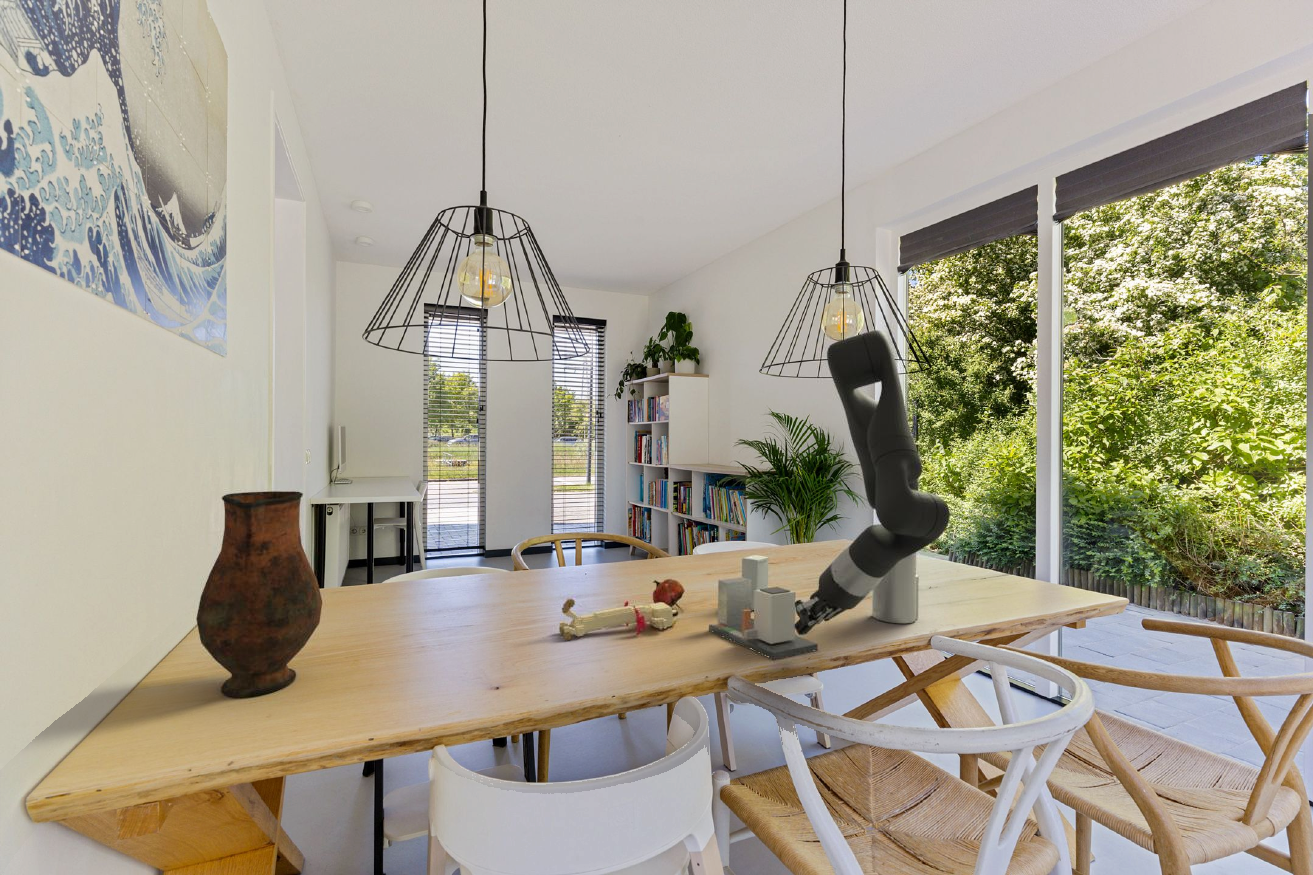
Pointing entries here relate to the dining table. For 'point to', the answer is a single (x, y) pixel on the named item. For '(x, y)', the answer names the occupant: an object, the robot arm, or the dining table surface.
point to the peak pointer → (746, 620)
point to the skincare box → (756, 573)
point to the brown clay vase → (259, 594)
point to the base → (730, 605)
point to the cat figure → (617, 618)
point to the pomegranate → (668, 592)
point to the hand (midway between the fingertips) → (799, 630)
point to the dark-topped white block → (773, 615)
